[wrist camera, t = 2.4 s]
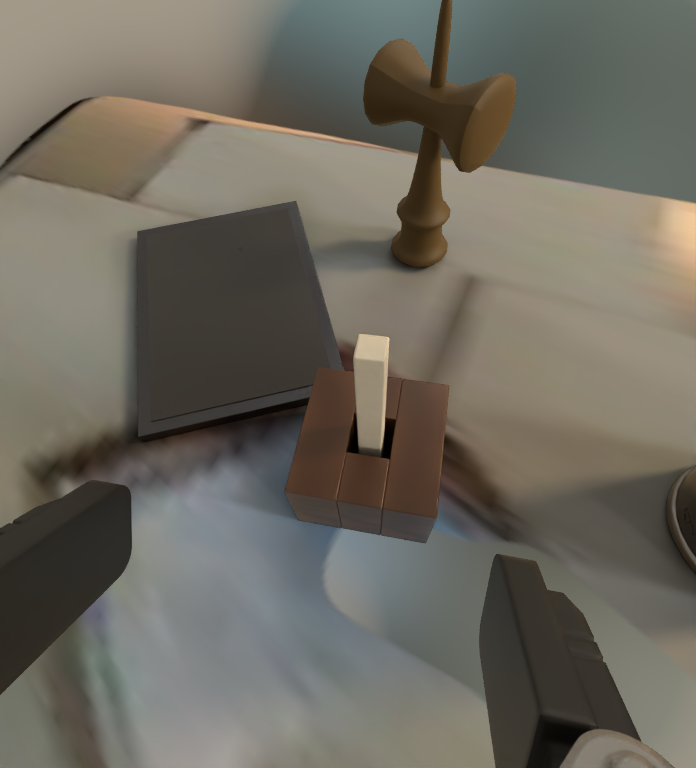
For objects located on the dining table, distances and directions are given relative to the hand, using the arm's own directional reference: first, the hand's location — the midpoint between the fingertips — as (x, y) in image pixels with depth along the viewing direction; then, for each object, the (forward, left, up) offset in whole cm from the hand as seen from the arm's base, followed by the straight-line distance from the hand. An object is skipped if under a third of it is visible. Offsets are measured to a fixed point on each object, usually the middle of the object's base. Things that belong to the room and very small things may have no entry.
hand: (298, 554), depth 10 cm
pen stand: (-4, -9, -21) cm, 23 cm away
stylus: (-4, -9, -21) cm, 23 cm away
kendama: (-14, -29, -21) cm, 39 cm away
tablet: (+4, -27, -21) cm, 35 cm away
